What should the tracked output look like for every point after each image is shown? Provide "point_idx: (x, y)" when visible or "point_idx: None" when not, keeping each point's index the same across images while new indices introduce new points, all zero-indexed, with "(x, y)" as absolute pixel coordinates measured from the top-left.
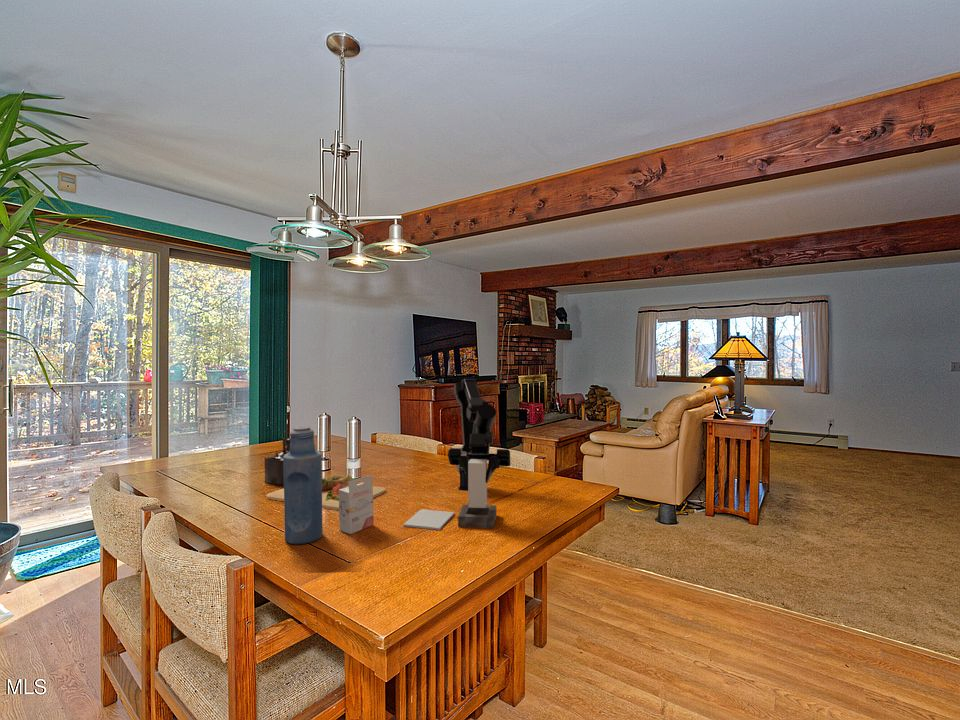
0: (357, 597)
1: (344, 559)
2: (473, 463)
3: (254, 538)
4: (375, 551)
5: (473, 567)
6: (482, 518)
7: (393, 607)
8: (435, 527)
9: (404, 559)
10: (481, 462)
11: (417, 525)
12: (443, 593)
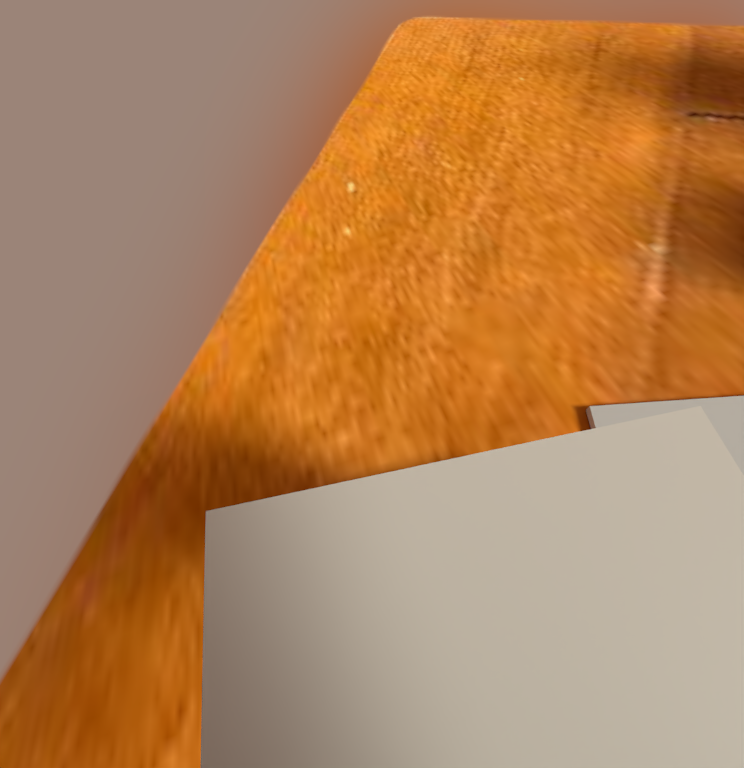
0: (526, 47)
1: (725, 118)
2: (536, 443)
3: None
4: (682, 179)
5: (326, 208)
6: None
7: (433, 55)
8: (614, 405)
9: (545, 176)
10: (331, 592)
11: (726, 398)
12: (359, 111)
